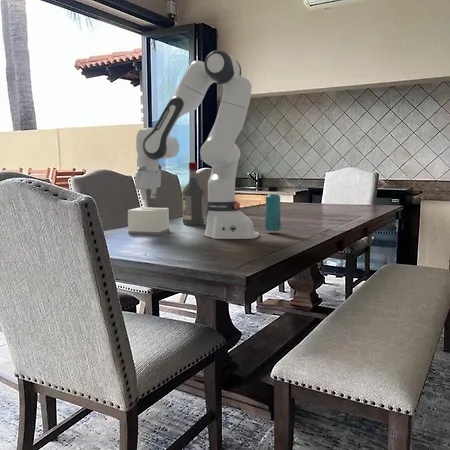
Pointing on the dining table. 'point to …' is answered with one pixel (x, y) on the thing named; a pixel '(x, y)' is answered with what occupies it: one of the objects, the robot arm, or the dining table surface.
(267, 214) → the beverage bottle
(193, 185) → the liquor
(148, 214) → the money box
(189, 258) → the dining table surface
